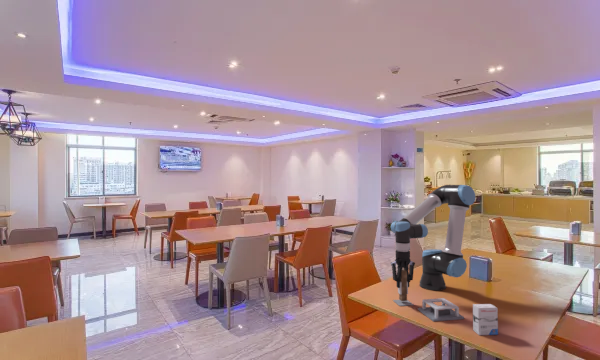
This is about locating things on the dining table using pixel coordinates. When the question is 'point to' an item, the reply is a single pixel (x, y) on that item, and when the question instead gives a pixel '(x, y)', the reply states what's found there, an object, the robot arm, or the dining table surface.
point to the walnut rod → (403, 286)
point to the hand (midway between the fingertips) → (402, 293)
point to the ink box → (485, 319)
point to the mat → (403, 303)
